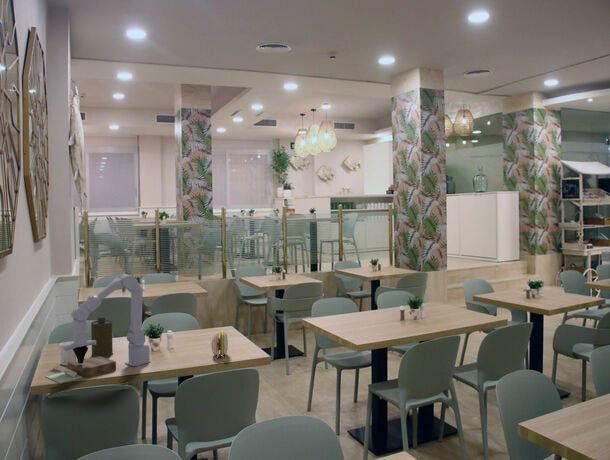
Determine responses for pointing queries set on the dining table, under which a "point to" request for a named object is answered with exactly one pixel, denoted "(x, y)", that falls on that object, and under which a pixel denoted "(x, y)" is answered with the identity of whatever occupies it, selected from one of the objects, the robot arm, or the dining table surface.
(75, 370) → the board
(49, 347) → the dining table surface
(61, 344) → the white cup
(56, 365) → the card
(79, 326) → the robot arm
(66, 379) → the mat
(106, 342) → the canister
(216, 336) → the hamburger
